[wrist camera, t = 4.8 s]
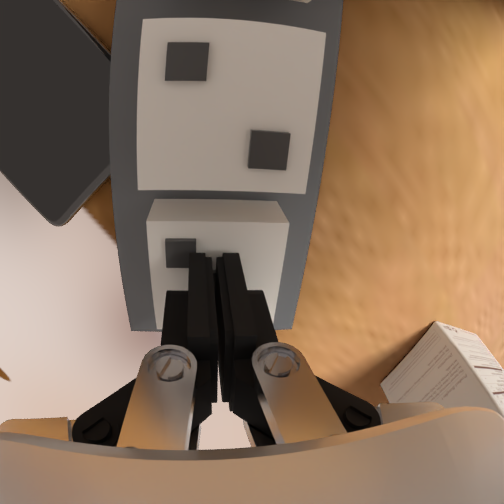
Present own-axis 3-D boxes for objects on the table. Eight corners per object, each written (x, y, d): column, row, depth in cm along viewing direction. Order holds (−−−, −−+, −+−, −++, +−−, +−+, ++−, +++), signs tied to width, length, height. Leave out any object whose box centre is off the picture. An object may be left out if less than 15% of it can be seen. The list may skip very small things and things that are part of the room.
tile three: (154, 198, 11) (145, 223, 10) (276, 201, 12) (291, 225, 10) (160, 298, 14) (156, 333, 12) (264, 297, 14) (273, 331, 13)
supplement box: (425, 386, 25) (479, 489, 15) (376, 383, 23) (436, 514, 12) (476, 331, 22) (549, 434, 12) (436, 316, 20) (527, 452, 9)
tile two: (154, 30, 8) (141, 18, 6) (303, 40, 8) (328, 31, 6) (149, 170, 10) (136, 192, 8) (288, 173, 11) (307, 196, 9)
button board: (150, -108, 6) (146, -123, 4) (334, -91, 7) (347, -104, 6) (135, 311, 16) (131, 330, 15) (285, 310, 17) (291, 328, 16)
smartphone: (58, 234, 13) (-95, 42, 5) (65, 224, 14) (-83, 41, 6) (172, 120, 11) (-12, -73, 3) (174, 117, 12) (-3, -68, 4)
